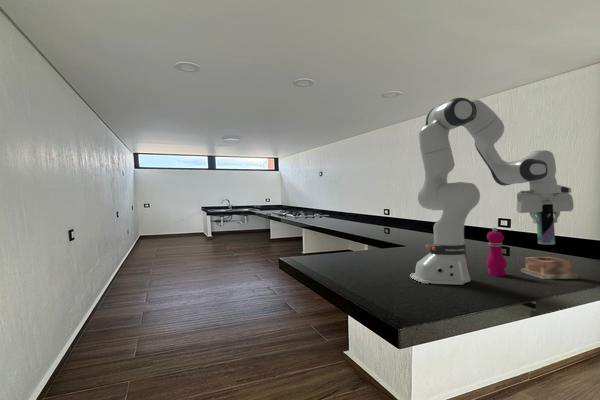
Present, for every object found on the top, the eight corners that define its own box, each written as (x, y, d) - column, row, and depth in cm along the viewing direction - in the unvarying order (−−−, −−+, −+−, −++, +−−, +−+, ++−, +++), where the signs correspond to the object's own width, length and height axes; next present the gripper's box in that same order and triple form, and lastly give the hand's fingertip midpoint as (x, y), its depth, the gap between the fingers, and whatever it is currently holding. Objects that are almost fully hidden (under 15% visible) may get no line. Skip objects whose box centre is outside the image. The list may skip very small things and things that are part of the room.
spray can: (551, 245, 118) (548, 195, 118) (535, 243, 123) (532, 196, 123) (558, 243, 120) (555, 195, 121) (542, 242, 125) (539, 195, 126)
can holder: (543, 278, 115) (542, 262, 115) (520, 271, 128) (520, 256, 128) (578, 278, 114) (577, 261, 114) (552, 271, 127) (551, 256, 127)
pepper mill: (501, 272, 128) (498, 226, 128) (511, 276, 121) (508, 227, 121) (483, 272, 128) (481, 227, 129) (492, 276, 121) (490, 228, 122)
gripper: (522, 190, 120) (524, 224, 119) (575, 188, 118) (577, 222, 118) (512, 191, 126) (513, 223, 126) (562, 189, 124) (564, 221, 124)
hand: (545, 223), depth 122 cm, fingers closed on spray can, 5 cm apart
